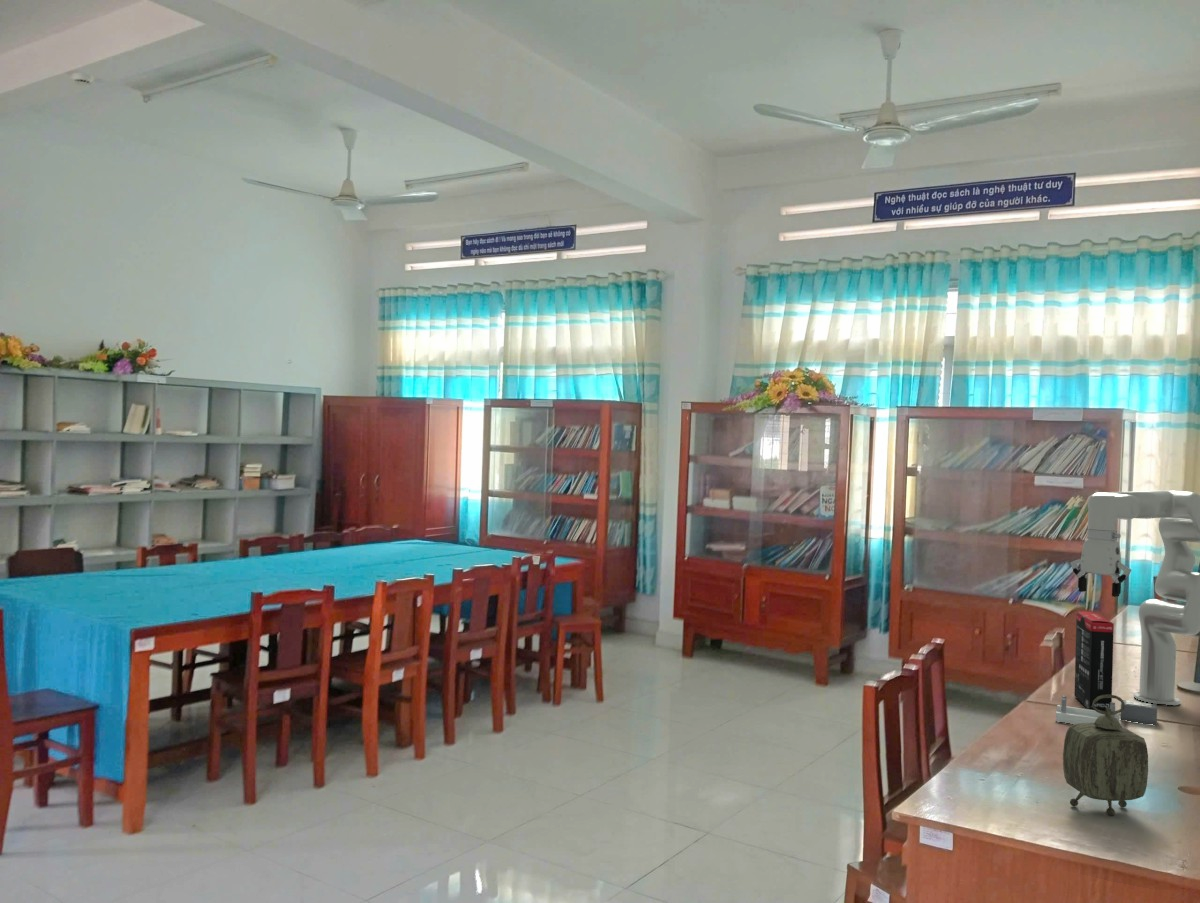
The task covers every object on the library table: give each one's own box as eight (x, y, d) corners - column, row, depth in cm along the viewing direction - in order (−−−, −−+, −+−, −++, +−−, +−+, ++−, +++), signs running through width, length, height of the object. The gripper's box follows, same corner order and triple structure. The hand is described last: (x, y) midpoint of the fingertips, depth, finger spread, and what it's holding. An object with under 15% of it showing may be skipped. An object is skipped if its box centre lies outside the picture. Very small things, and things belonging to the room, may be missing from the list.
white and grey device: (1057, 712, 283) (1057, 692, 283) (1118, 721, 276) (1119, 700, 276) (1055, 721, 273) (1056, 700, 273) (1119, 731, 266) (1120, 709, 266)
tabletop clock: (1126, 804, 210) (1130, 690, 210) (1151, 821, 201) (1156, 701, 201) (1060, 803, 210) (1065, 688, 209) (1083, 819, 201) (1088, 700, 200)
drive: (1120, 716, 282) (1121, 699, 282) (1155, 721, 278) (1156, 703, 278) (1120, 721, 277) (1121, 703, 277) (1156, 726, 273) (1157, 708, 273)
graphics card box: (1113, 713, 285) (1116, 621, 284) (1087, 711, 286) (1091, 620, 286) (1095, 698, 301) (1098, 612, 301) (1071, 696, 303) (1075, 610, 303)
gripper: (1138, 538, 280) (1135, 597, 280) (1078, 532, 294) (1076, 589, 294) (1125, 539, 275) (1122, 599, 275) (1066, 533, 289) (1063, 590, 289)
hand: (1098, 593), depth 285 cm, fingers open, 9 cm apart
